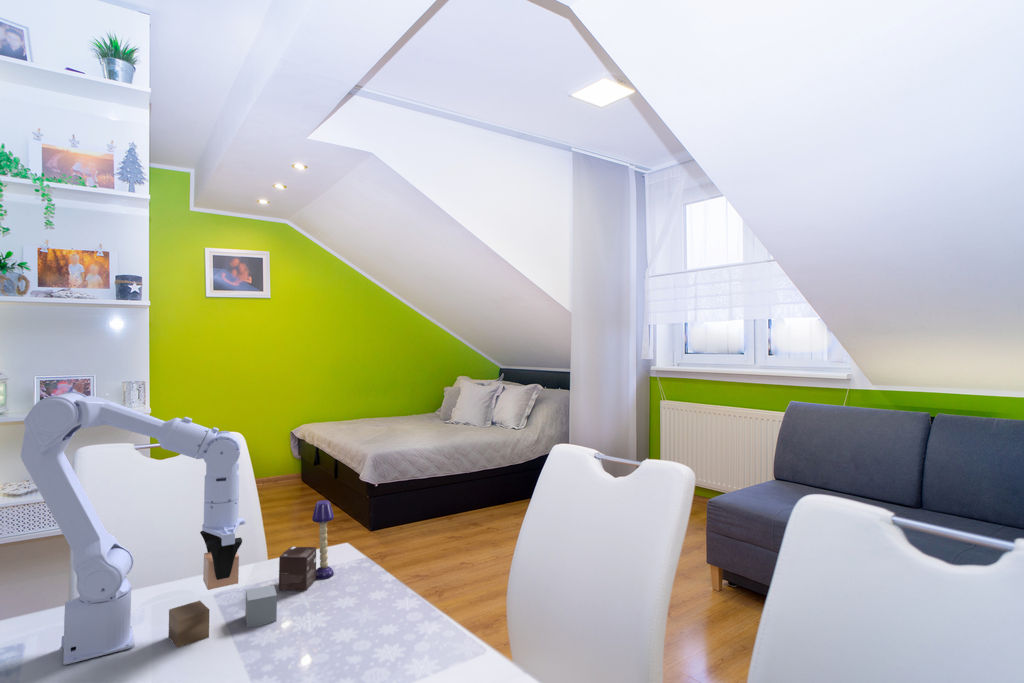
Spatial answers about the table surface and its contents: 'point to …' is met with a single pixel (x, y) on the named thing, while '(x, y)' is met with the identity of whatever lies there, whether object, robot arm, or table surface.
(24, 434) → the robot arm
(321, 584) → the table surface
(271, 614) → the slate block
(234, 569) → the terracotta block
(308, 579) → the box
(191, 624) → the walnut block
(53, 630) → the table surface
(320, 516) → the toy lamp
